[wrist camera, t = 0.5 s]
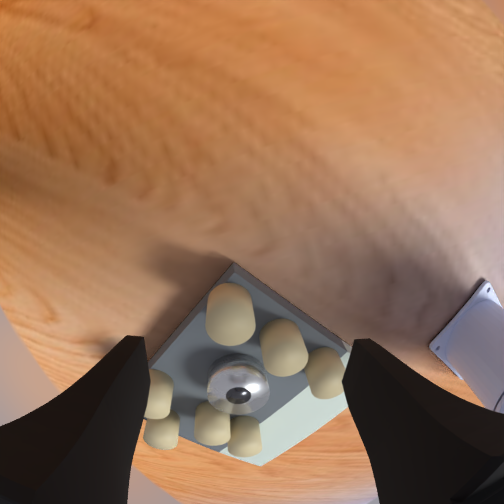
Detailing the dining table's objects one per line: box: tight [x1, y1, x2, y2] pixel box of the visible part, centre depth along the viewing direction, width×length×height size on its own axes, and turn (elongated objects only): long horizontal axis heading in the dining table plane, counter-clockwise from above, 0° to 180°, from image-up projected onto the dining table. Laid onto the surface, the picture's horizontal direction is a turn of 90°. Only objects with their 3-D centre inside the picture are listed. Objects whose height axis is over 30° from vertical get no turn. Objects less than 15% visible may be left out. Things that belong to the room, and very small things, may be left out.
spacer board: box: [143, 262, 352, 466], centre depth 21 cm, size 15×15×4 cm
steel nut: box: [207, 353, 270, 415], centre depth 19 cm, size 4×4×2 cm
